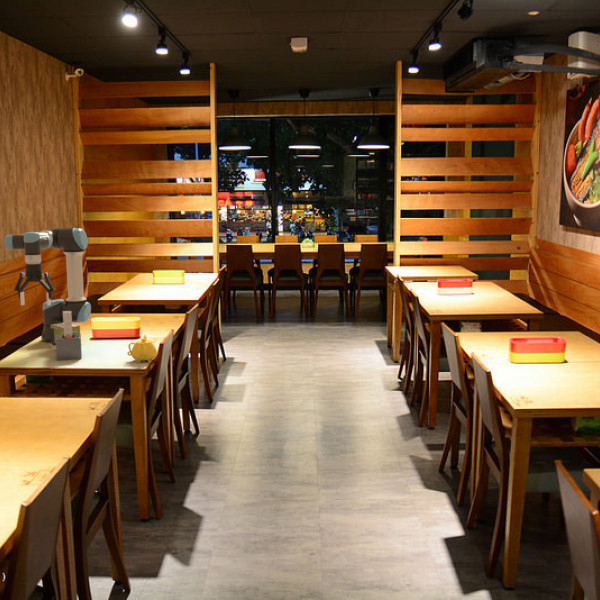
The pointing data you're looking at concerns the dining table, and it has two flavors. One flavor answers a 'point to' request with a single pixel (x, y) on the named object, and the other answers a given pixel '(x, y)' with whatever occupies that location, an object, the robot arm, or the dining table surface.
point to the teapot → (143, 350)
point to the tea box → (61, 332)
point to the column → (67, 323)
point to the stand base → (68, 347)
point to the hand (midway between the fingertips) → (35, 305)
